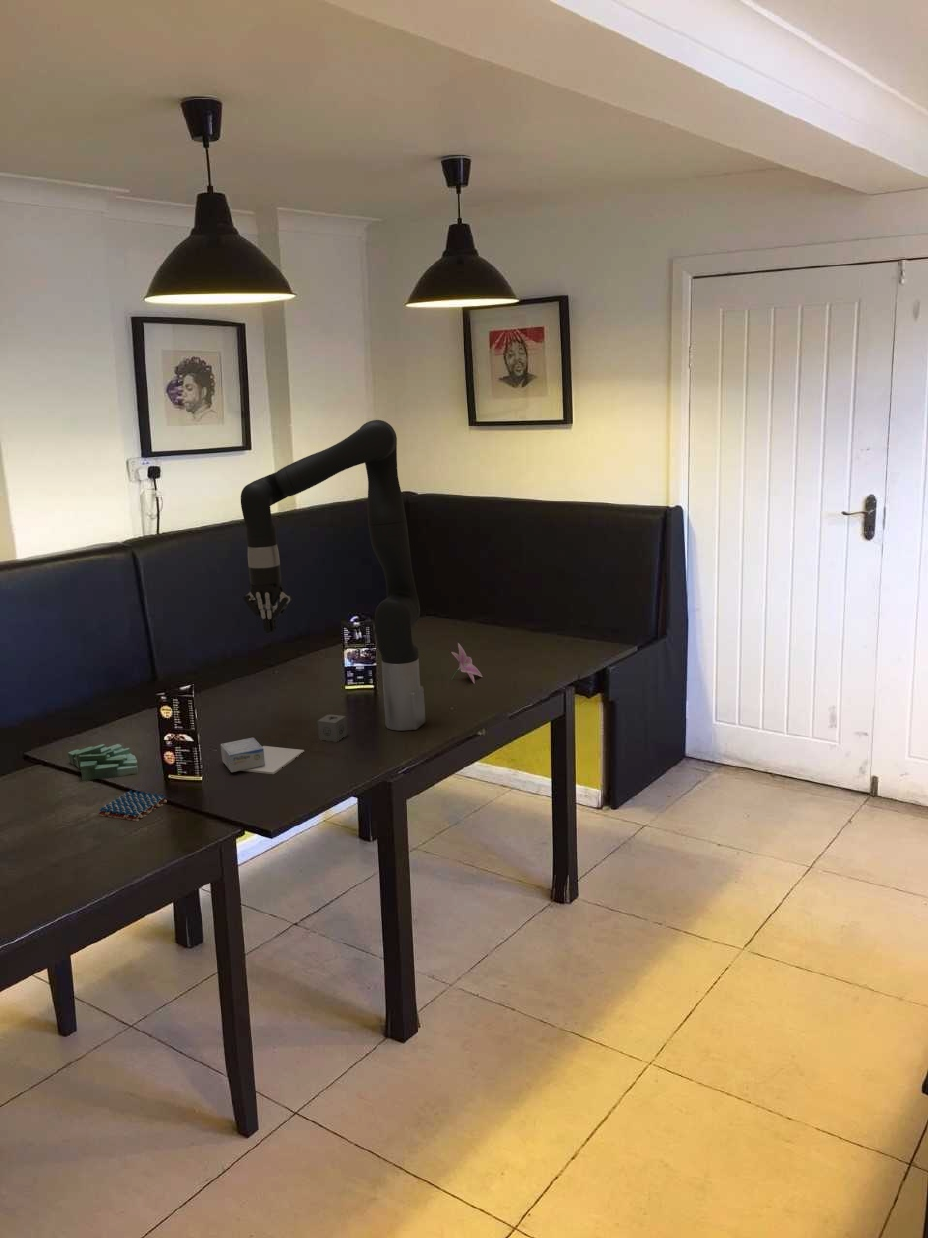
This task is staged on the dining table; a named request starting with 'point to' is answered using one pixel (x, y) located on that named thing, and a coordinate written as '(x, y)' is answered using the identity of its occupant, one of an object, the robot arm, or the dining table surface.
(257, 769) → the mat
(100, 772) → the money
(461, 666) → the lily
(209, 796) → the dining table surface
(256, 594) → the robot arm
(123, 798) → the woven mat
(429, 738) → the dining table surface
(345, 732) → the dice cube
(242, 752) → the medicine box
